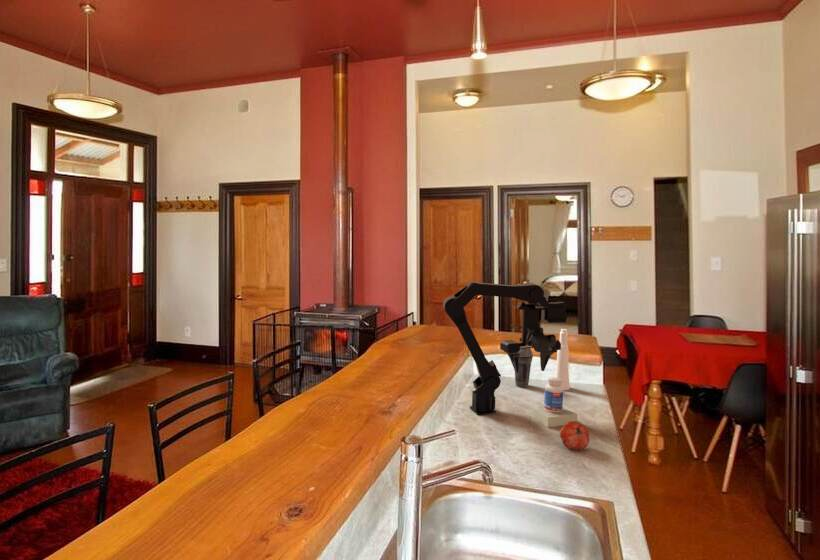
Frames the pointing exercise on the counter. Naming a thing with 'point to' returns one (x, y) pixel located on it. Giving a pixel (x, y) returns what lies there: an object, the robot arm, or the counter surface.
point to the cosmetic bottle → (563, 361)
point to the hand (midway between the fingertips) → (529, 371)
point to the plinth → (552, 416)
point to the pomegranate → (575, 435)
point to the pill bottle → (553, 395)
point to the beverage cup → (524, 368)
